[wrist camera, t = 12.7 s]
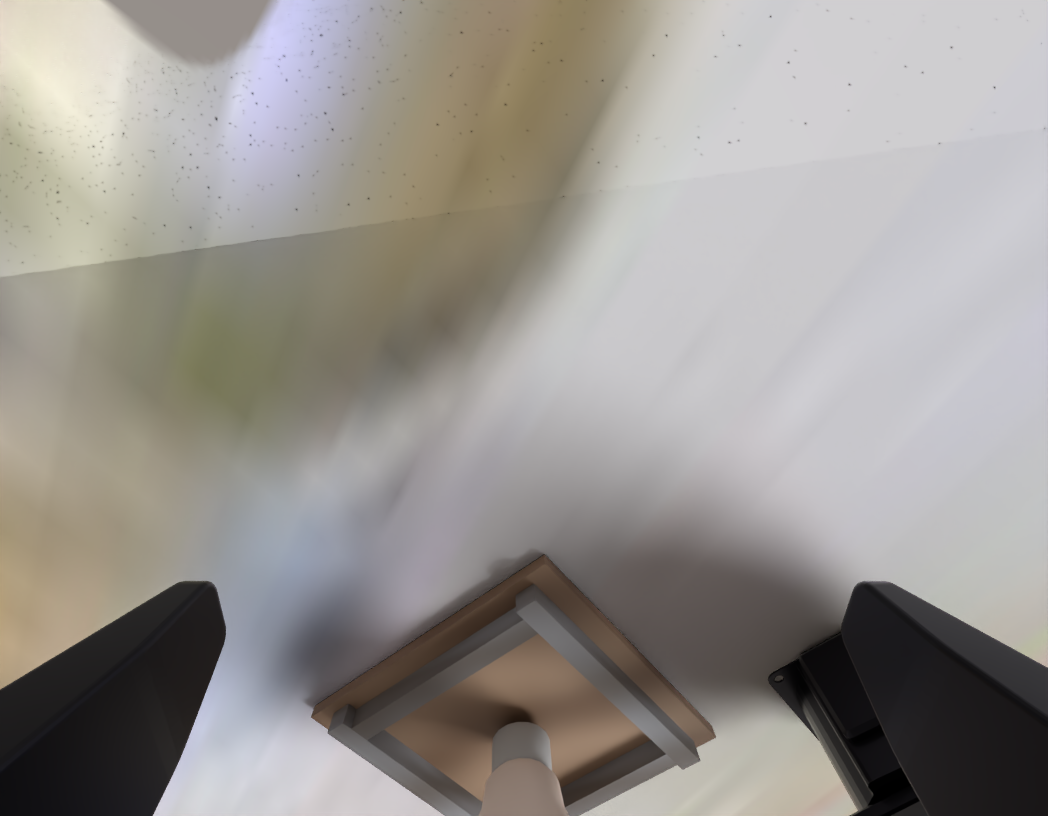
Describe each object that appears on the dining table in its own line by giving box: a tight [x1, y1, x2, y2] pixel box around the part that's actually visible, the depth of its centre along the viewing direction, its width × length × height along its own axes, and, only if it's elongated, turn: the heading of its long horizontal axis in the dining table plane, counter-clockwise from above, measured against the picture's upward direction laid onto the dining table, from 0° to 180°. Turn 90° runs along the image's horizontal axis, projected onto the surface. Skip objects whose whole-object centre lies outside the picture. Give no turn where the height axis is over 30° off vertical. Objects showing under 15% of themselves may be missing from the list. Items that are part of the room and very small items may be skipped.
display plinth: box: [311, 555, 716, 816], centre depth 27 cm, size 14×14×2 cm
